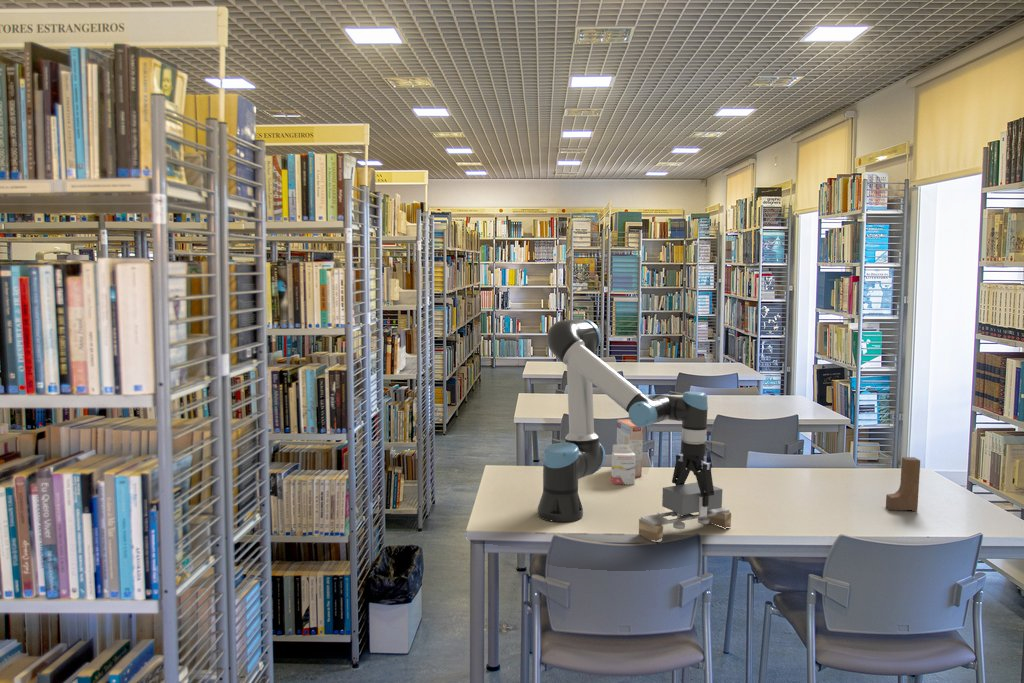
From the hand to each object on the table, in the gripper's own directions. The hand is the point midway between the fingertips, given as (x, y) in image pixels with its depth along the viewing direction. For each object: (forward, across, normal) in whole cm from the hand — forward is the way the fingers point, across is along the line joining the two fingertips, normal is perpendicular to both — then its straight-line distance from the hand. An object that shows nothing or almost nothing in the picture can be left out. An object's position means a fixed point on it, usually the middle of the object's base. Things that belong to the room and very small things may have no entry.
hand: (691, 511), depth 236 cm
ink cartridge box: (+6, +53, -12) cm, 55 cm away
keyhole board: (+6, 0, +2) cm, 6 cm away
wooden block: (+6, -16, -81) cm, 83 cm away
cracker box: (+6, +64, -23) cm, 69 cm away
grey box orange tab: (+4, 0, 0) cm, 4 cm away
